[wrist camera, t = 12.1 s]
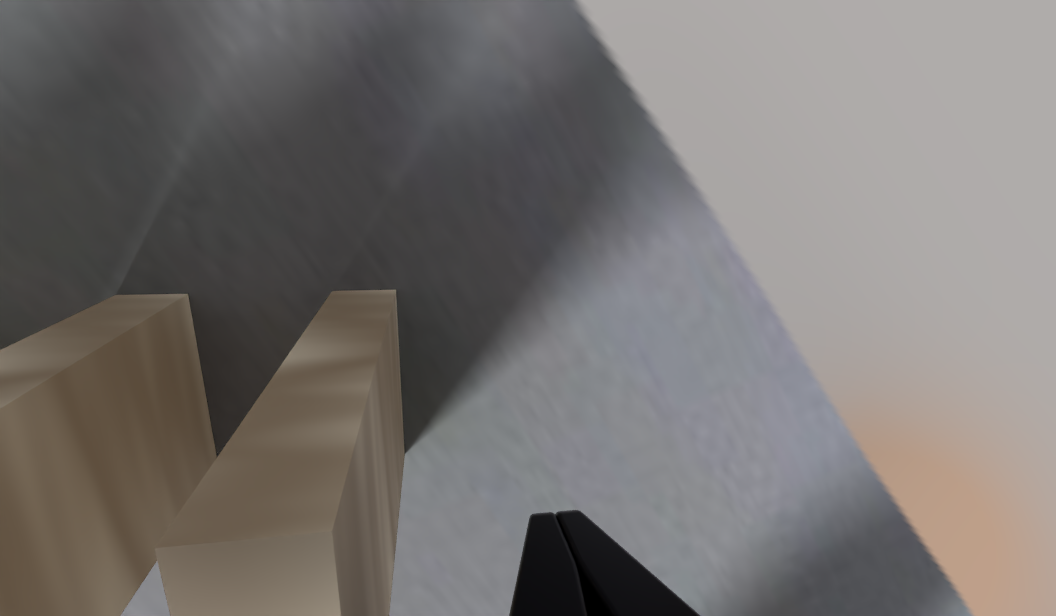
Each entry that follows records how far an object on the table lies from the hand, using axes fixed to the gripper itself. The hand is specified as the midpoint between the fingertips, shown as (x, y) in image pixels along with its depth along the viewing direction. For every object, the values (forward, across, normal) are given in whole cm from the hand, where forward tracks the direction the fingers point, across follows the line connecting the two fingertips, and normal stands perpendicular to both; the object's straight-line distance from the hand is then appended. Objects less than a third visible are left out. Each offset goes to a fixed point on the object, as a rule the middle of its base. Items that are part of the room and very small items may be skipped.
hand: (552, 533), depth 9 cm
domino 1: (+7, +4, 0) cm, 8 cm away
